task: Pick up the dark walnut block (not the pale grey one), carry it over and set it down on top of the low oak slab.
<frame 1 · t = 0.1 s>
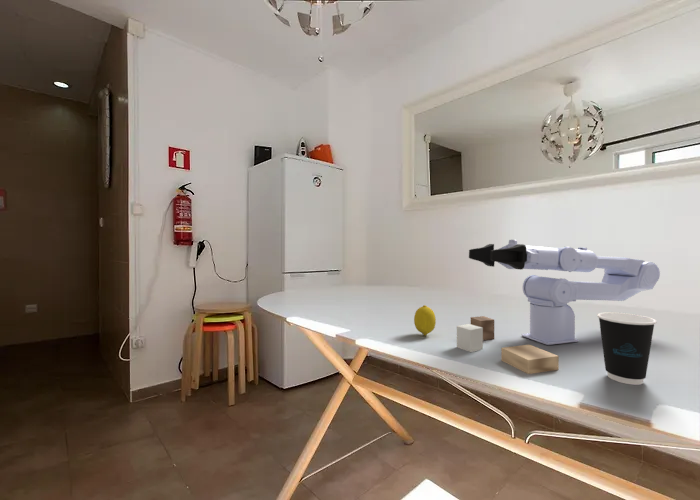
hand: (479, 254, 74), 22 cm above the table, tool horizontal, fingers open, 7 cm apart
oak slab: (528, 366, 63), on the table
walnut block: (482, 337, 81), on the table
lemon: (424, 336, 84), on the table
grey block: (469, 348, 74), on the table
dixie cup: (624, 379, 56), on the table
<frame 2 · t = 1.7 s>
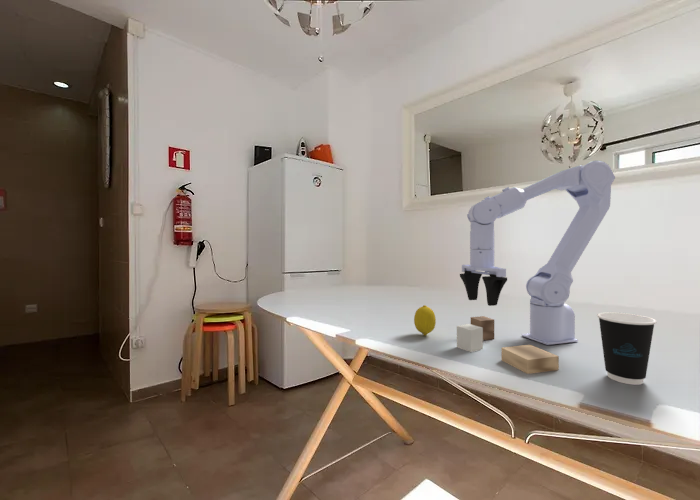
hand: (482, 302, 81), 9 cm above the table, tool pointing down, fingers open, 7 cm apart
nothing on the table moved.
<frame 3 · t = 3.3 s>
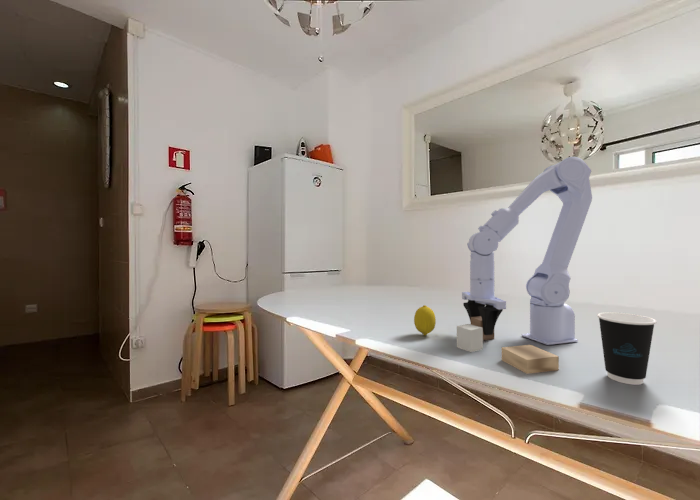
hand: (482, 332, 81), 1 cm above the table, tool pointing down, fingers closed on walnut block, 4 cm apart
walnut block: (482, 337, 81), on the table, touching gripper
everything else where it was.
when the fingers open (6 cm above the table, at t = 6.6 s): walnut block moves 1 cm, point 3 cm above the table.
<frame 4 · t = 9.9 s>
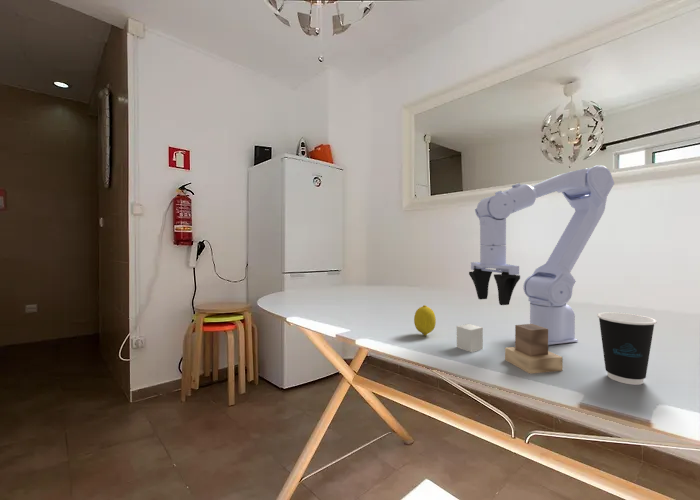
hand: (492, 301, 77), 10 cm above the table, tool pointing down, fingers open, 7 cm apart
walnut block: (531, 351, 63), point 3 cm above the table
everything else where it was.
at the end: walnut block 0.3 cm off-centre on the oak slab, point 3.0 cm above the oak slab's base; walnut block tilted 0°; grey block moved 0.1 cm from its start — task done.
